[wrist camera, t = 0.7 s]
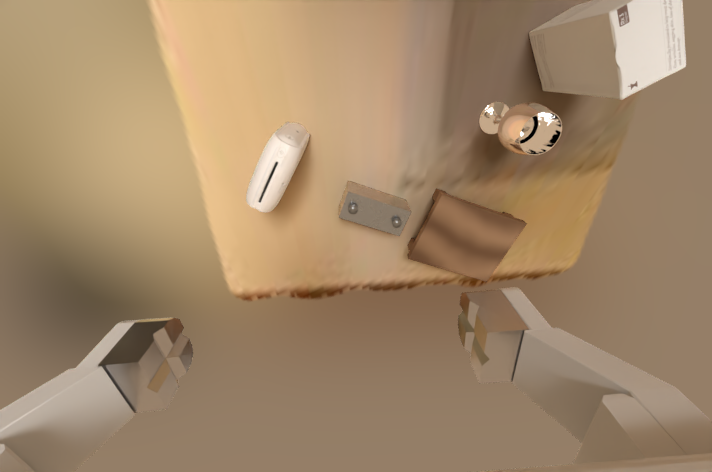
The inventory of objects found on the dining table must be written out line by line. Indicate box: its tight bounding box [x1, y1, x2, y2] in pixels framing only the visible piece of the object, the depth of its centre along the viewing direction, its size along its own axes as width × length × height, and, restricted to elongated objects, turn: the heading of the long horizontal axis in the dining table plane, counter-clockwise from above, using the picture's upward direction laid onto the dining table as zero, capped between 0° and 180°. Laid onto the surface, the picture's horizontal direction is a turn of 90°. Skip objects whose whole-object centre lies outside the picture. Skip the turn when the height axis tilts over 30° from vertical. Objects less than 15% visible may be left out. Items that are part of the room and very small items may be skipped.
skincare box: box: [529, 0, 686, 100], centre depth 34 cm, size 8×6×15 cm
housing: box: [339, 181, 411, 236], centre depth 48 cm, size 4×10×6 cm, turn 70°
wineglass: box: [479, 101, 562, 155], centre depth 39 cm, size 6×6×12 cm
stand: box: [408, 189, 526, 282], centre depth 51 cm, size 12×15×4 cm
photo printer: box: [246, 122, 310, 212], centre depth 41 cm, size 10×4×12 cm, turn 150°
